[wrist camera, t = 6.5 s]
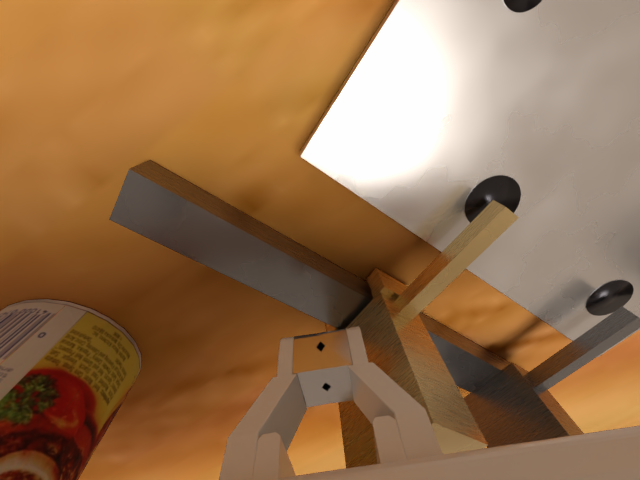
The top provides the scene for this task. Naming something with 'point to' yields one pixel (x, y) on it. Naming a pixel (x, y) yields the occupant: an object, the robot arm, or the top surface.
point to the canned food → (59, 386)
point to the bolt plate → (504, 142)
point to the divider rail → (354, 301)
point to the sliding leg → (419, 344)
